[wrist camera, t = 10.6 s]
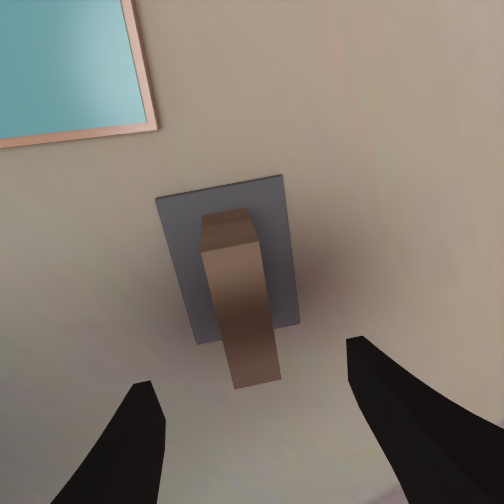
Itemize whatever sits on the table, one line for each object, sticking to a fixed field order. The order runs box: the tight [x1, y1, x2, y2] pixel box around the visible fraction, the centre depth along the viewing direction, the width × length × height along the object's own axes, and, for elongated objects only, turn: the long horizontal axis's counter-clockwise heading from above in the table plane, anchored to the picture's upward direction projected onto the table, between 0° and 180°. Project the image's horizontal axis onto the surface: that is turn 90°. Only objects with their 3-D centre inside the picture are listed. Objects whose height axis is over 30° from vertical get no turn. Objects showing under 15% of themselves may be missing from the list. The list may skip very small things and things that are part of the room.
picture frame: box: [0, 0, 160, 148], centre depth 15 cm, size 2×8×8 cm
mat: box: [155, 175, 300, 345], centre depth 21 cm, size 10×7×1 cm
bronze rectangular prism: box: [201, 207, 281, 389], centre depth 18 cm, size 8×2×5 cm, turn 9°
